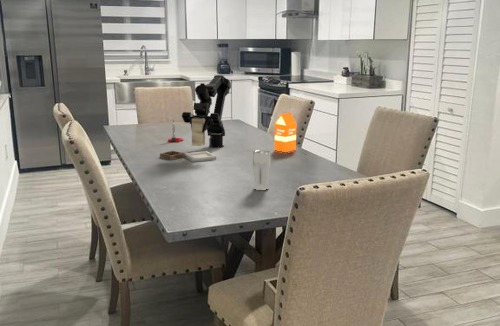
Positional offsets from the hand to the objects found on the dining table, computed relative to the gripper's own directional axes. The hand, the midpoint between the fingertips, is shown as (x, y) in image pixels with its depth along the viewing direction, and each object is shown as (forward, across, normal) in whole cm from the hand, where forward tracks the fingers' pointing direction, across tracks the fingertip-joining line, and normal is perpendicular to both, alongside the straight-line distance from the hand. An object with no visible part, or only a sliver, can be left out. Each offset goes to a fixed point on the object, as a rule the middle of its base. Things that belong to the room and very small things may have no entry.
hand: (197, 132), depth 235 cm
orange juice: (-11, +38, +31) cm, 50 cm away
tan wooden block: (+4, 0, +6) cm, 7 cm away
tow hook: (-18, -28, +38) cm, 50 cm away
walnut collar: (+10, -14, +9) cm, 19 cm away
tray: (+8, +1, +10) cm, 13 cm away
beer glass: (+38, +41, -19) cm, 59 cm away
